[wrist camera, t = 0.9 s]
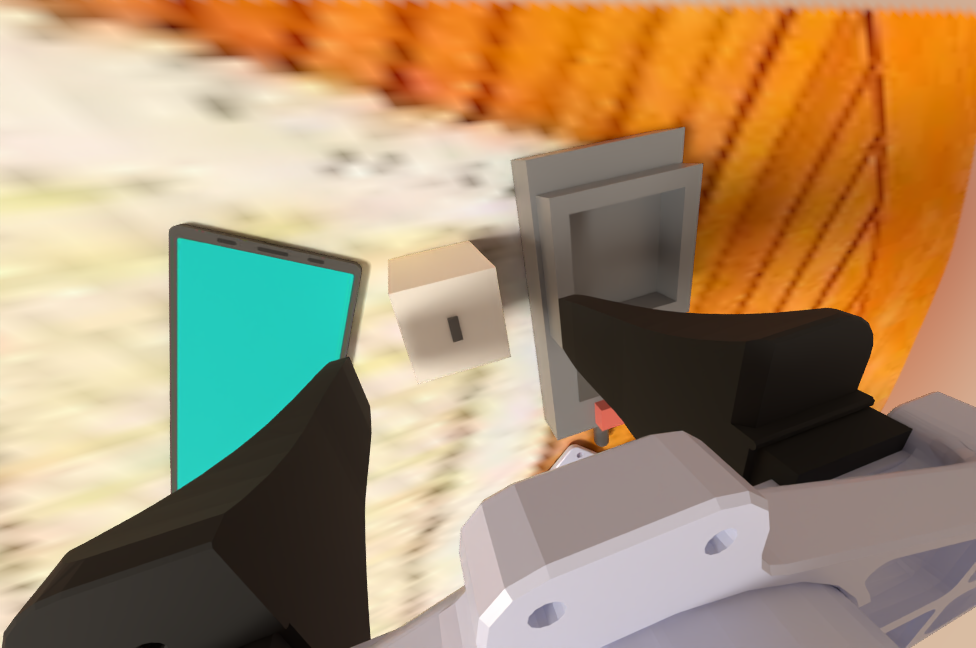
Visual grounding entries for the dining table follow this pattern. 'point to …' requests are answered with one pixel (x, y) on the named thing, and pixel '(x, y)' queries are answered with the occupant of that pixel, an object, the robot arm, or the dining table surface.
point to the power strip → (603, 249)
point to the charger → (448, 310)
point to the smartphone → (245, 337)
